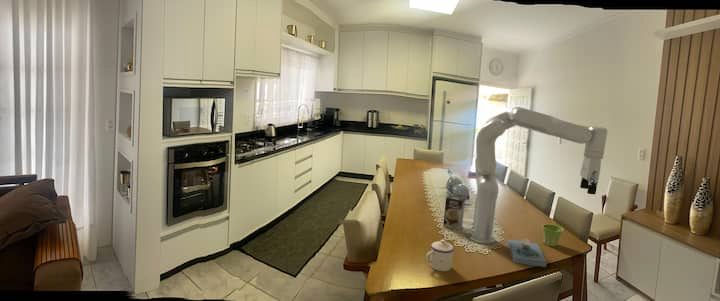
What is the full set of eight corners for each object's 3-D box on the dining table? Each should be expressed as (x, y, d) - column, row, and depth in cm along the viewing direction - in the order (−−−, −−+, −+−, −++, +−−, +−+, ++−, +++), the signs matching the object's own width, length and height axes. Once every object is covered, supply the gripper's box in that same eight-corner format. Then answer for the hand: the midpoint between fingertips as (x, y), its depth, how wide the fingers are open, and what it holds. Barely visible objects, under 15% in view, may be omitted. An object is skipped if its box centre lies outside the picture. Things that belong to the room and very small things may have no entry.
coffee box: (442, 226, 203) (445, 197, 200) (445, 222, 208) (448, 194, 205) (459, 230, 199) (462, 200, 196) (462, 226, 204) (465, 197, 201)
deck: (507, 244, 184) (508, 239, 184) (536, 248, 181) (536, 243, 181) (513, 262, 165) (514, 256, 165) (546, 267, 162) (546, 261, 162)
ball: (521, 249, 173) (522, 240, 172) (519, 245, 177) (520, 236, 176) (531, 250, 172) (532, 241, 171) (529, 246, 176) (530, 237, 175)
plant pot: (558, 250, 181) (561, 232, 179) (537, 244, 186) (540, 227, 185) (562, 244, 188) (565, 227, 187) (542, 238, 194) (544, 222, 192)
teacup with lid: (443, 260, 163) (445, 234, 161) (456, 270, 155) (459, 243, 153) (419, 264, 159) (421, 237, 156) (431, 274, 150) (434, 247, 148)
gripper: (578, 150, 180) (572, 185, 183) (591, 157, 163) (584, 195, 166) (595, 152, 178) (590, 187, 181) (610, 158, 161) (603, 197, 165)
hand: (587, 191), depth 174 cm, fingers open, 9 cm apart
